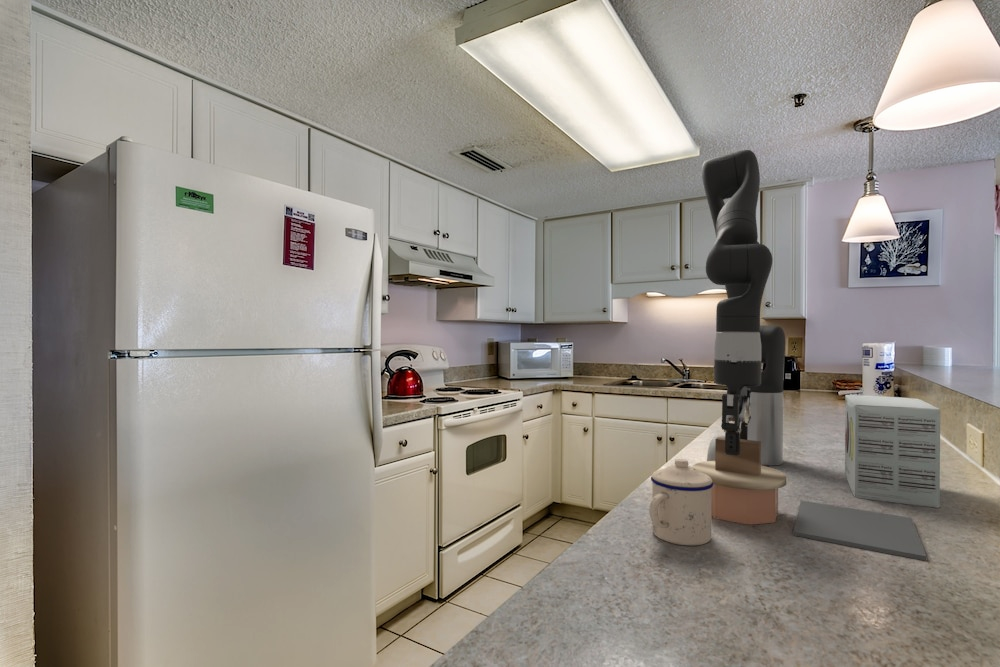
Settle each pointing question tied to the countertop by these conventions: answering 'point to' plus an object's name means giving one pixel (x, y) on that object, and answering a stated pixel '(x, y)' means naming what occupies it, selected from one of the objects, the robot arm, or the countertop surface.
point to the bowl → (744, 505)
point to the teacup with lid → (681, 504)
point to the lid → (741, 468)
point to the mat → (859, 529)
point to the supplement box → (893, 449)
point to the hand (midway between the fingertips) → (736, 450)
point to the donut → (712, 449)
